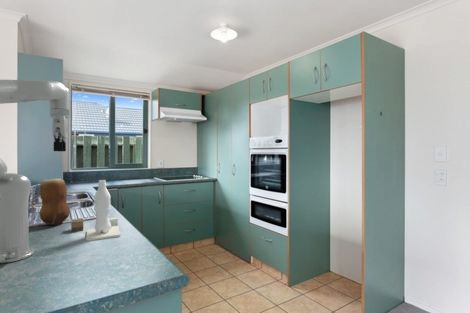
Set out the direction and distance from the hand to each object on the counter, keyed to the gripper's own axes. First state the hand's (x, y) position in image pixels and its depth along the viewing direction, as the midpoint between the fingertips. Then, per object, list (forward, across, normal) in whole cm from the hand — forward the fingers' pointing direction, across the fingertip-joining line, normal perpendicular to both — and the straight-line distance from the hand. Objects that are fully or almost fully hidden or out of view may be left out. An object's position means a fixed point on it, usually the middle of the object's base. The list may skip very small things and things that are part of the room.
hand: (59, 151), depth 123 cm
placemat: (+40, -1, -18) cm, 44 cm away
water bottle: (+39, -2, -18) cm, 43 cm away
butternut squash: (+40, +28, +6) cm, 49 cm away
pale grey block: (+40, +12, -22) cm, 47 cm away
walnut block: (+40, +11, -6) cm, 42 cm away
